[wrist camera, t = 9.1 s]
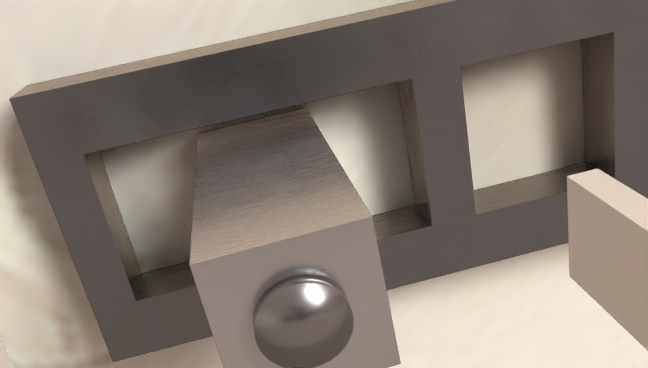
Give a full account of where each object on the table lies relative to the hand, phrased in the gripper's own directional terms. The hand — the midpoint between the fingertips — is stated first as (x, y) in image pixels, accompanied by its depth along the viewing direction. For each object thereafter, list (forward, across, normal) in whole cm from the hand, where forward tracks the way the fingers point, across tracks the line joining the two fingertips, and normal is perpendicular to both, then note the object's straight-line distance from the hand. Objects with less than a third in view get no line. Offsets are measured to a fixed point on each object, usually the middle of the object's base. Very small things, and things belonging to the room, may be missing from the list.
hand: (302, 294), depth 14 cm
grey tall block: (+10, 0, -1) cm, 10 cm away
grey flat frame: (+10, +4, -1) cm, 10 cm away
